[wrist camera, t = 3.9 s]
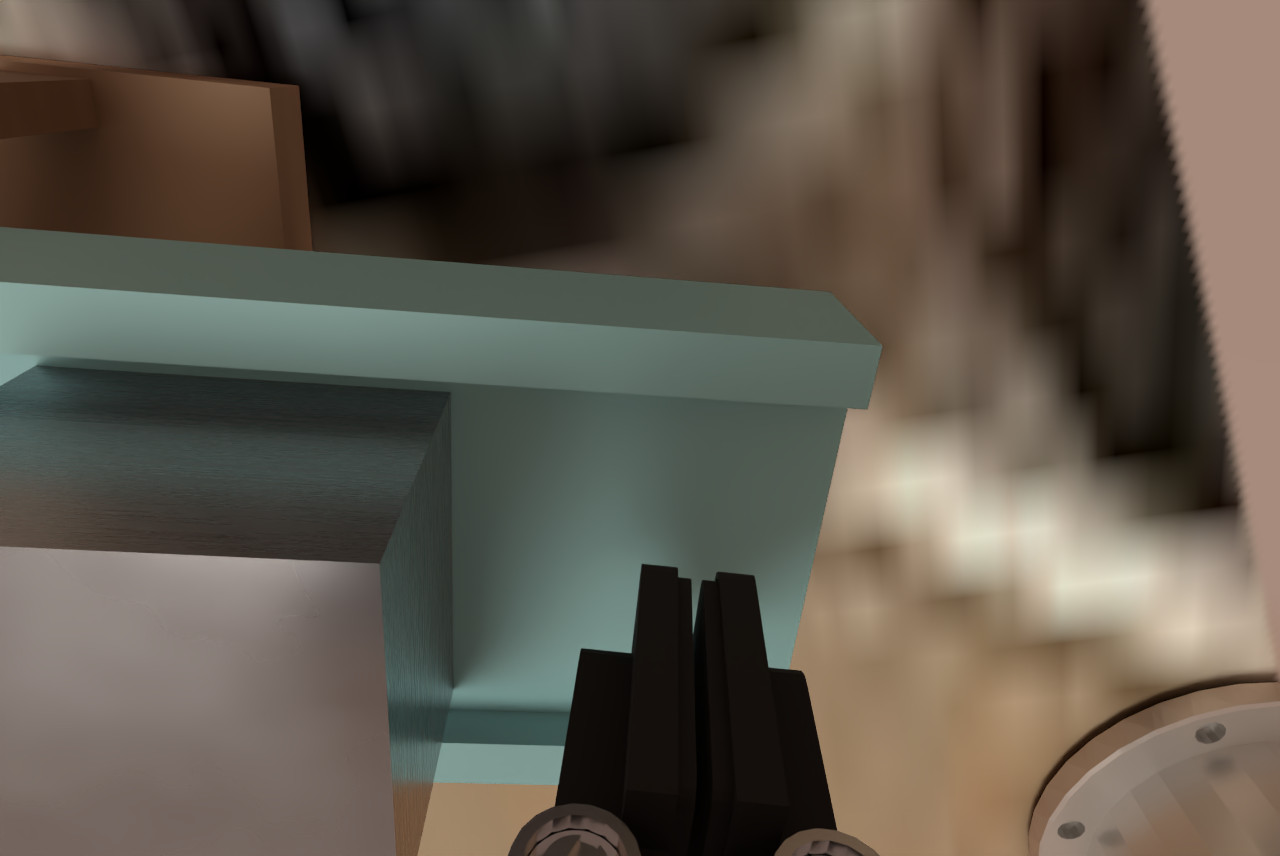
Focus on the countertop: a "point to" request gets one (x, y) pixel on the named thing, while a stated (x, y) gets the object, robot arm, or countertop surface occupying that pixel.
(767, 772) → the robot arm
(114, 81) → the stand
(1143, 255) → the countertop surface
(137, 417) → the block
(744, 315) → the beam
